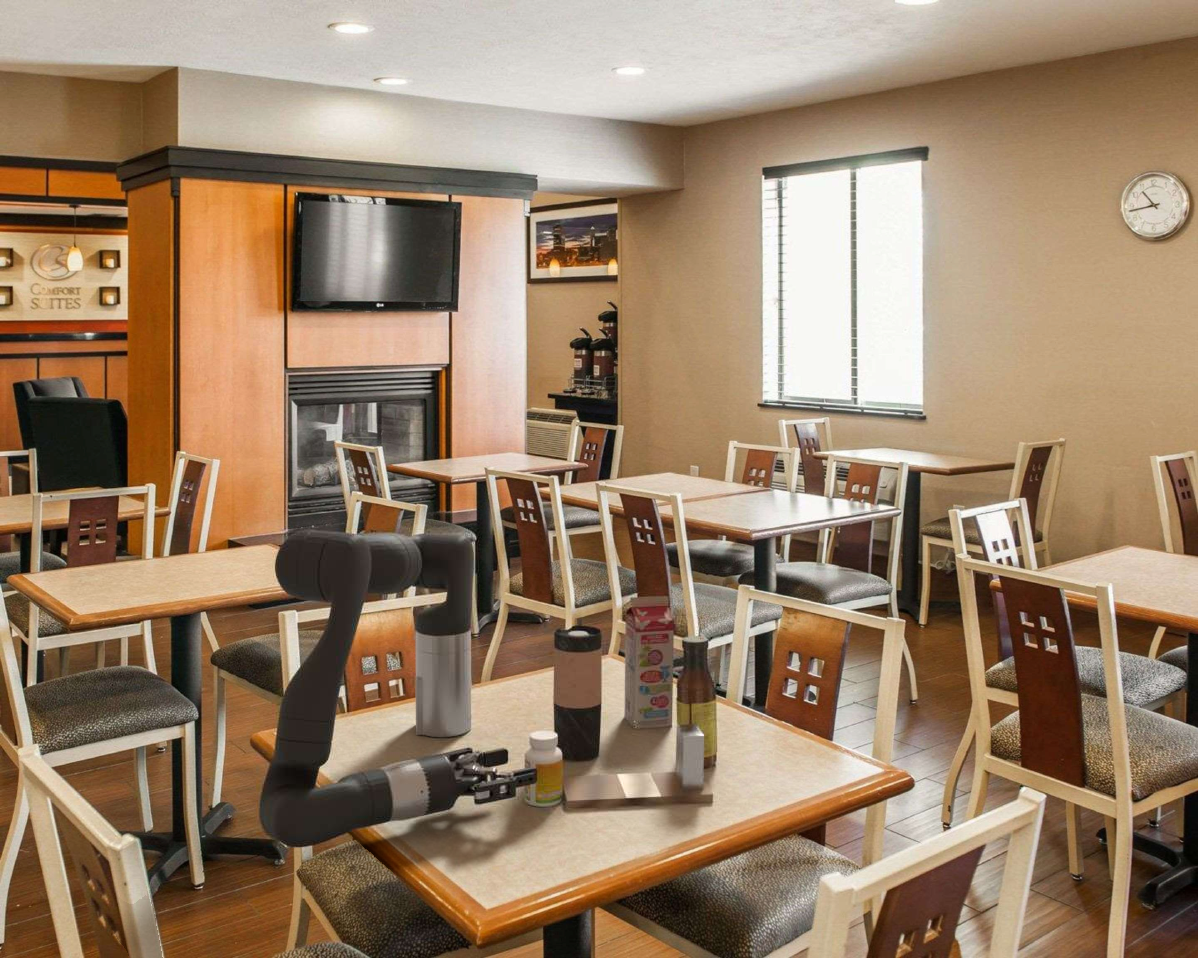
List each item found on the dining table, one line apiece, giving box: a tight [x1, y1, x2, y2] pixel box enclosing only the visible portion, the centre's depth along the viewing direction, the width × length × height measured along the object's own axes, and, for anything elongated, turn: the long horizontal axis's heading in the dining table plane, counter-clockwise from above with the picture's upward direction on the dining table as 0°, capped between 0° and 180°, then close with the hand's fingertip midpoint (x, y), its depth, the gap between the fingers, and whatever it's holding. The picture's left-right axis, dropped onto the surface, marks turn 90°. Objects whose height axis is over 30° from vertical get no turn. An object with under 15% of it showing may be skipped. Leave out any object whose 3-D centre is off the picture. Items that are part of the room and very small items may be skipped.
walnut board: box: [562, 771, 714, 810], centre depth 168 cm, size 21×9×1 cm, turn 98°
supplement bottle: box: [524, 730, 563, 808], centre depth 165 cm, size 5×5×10 cm
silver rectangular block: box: [675, 724, 704, 790], centre depth 168 cm, size 3×5×8 cm, turn 8°
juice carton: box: [623, 595, 675, 730], centre depth 198 cm, size 7×7×22 cm
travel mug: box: [552, 624, 603, 762], centre depth 183 cm, size 8×8×20 cm
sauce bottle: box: [675, 635, 718, 769], centre depth 179 cm, size 6×6×20 cm
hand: (521, 764), depth 163 cm, fingers open, 8 cm apart
